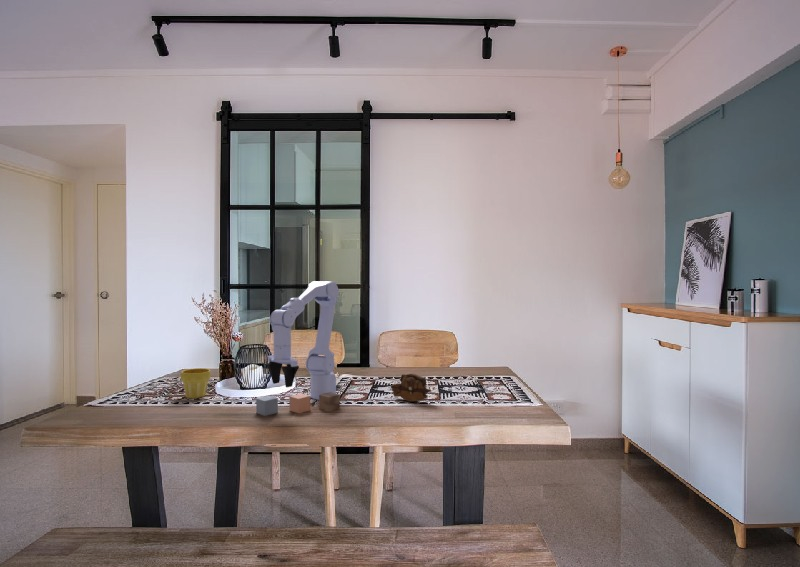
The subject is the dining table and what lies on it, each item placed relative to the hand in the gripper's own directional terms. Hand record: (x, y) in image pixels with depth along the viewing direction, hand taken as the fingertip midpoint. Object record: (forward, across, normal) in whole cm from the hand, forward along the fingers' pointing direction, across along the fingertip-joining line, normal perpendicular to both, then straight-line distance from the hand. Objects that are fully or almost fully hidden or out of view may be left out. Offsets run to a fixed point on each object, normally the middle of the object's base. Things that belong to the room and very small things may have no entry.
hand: (282, 384), depth 155 cm
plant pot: (+9, -41, -11) cm, 44 cm away
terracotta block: (+9, +4, +5) cm, 11 cm away
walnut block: (+9, +9, +13) cm, 18 cm away
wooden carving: (+9, +24, +39) cm, 47 cm away
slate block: (+9, -2, -4) cm, 10 cm away
